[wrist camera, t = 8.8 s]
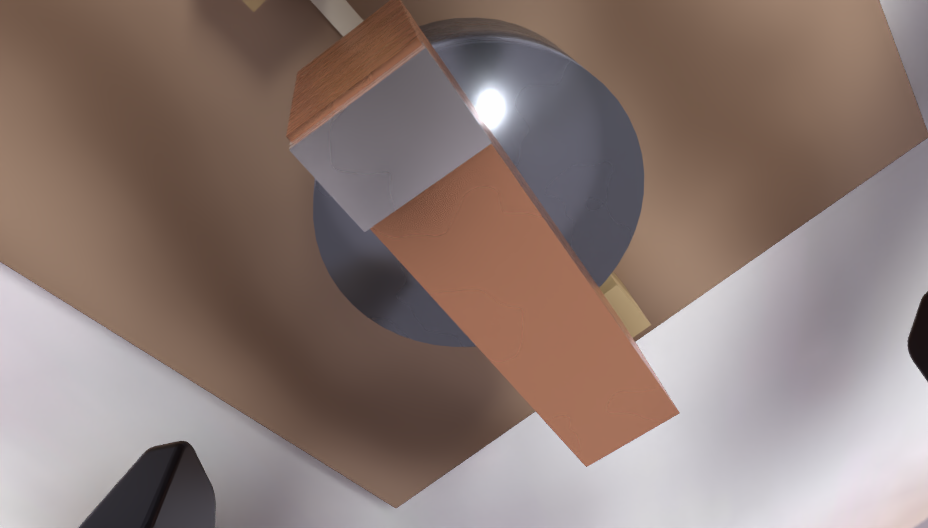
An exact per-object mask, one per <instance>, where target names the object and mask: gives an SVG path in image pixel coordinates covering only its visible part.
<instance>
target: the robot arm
mask: <svg viewBox="0 0 928 528" xmlns="http://www.w3.org/2000/svg"><path fill="white" fill-rule="evenodd" d="M908 351H909V354H910V356H911V358H912V360H913V362H914V363H915V365H916V366H917V367H918V369H919V370H920V372H921V373H922V374H923V376H924V377H925V379H926V380H927V382H928V292H927V293H926V294H925V295H924V296H923V297H922V299H921V302H920V305H919V308H918V311H917V314H916V317H915V319H914V322H913V325H912V328H911V331H910V334H909V337H908ZM215 509H216V504H215V495H214V491H213V487H212V485H211V483H210V481H209V479H208V477H207V475H206V473H205V471H204V469H203V467H202V465H201V463H200V461H199V459H198V457H197V455H196V452H195V450H194V449H193V447H192V446H191V445H190V444H189V443H188V442H186V441H178V442H173V443H168V444H163V445H159V446H154V447H152V448H150V449H148V450H147V451H146V452H145V453H144V454H143V455H142V456H141V457H140V458H139V459H138V460H137V461H136V463H135V464H134V465H133V466H132V467H131V468H130V469H129V470H128V472H127V473H126V474H125V475H124V476H123V477H122V478H121V480H120V481H119V482H118V483H117V484H116V485H115V486H114V488H113V489H112V490H111V491H110V492H109V493H108V494H107V496H106V497H105V498H104V499H103V500H102V501H101V502H100V504H99V505H98V506H97V507H96V508H95V509H94V510H93V512H92V513H91V514H90V515H89V516H88V517H87V518H86V520H85V521H84V522H83V523H82V524H81V525H80V526H79V528H215Z"/></svg>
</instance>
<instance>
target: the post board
mask: <svg viewBox="0 0 928 528" xmlns="http://www.w3.org/2000/svg"><path fill="white" fill-rule="evenodd" d="M389 1H390V0H0V262H2V263H3V264H5V265H6V266H8V267H10V268H11V269H13V270H14V271H16V272H18V273H19V274H21V275H22V276H24V277H26V278H27V279H29V280H30V281H32V282H34V283H35V284H37V285H38V286H40V287H42V288H43V289H45V290H46V291H48V292H50V293H51V294H53V295H55V296H56V297H58V298H59V299H61V300H63V301H64V302H66V303H67V304H69V305H71V306H72V307H74V308H75V309H77V310H79V311H80V312H82V313H83V314H85V315H87V316H88V317H90V318H91V319H93V320H95V321H96V322H98V323H99V324H101V325H103V326H104V327H106V328H107V329H109V330H111V331H112V332H114V333H115V334H117V335H119V336H120V337H122V338H123V339H125V340H127V341H128V342H130V343H131V344H133V345H135V346H136V347H138V348H139V349H141V350H143V351H144V352H146V353H147V354H149V355H151V356H152V357H154V358H155V359H157V360H159V361H160V362H162V363H163V364H165V365H167V366H168V367H170V368H172V369H173V370H175V371H176V372H178V373H180V374H181V375H183V376H184V377H186V378H188V379H189V380H191V381H192V382H194V383H196V384H197V385H199V386H200V387H202V388H204V389H205V390H207V391H208V392H210V393H212V394H213V395H215V396H216V397H218V398H220V399H221V400H223V401H224V402H226V403H228V404H229V405H231V406H232V407H234V408H236V409H237V410H239V411H240V412H242V413H244V414H245V415H247V416H248V417H250V418H252V419H253V420H255V421H256V422H258V423H260V424H261V425H263V426H264V427H266V428H268V429H269V430H271V431H272V432H274V433H276V434H277V435H279V436H280V437H282V438H284V439H285V440H287V441H289V442H290V443H292V444H293V445H295V446H297V447H298V448H300V449H301V450H303V451H305V452H306V453H308V454H309V455H311V456H313V457H314V458H316V459H317V460H319V461H321V462H322V463H324V464H325V465H327V466H329V467H330V468H332V469H333V470H335V471H337V472H338V473H340V474H341V475H343V476H345V477H346V478H348V479H349V480H351V481H353V482H354V483H356V484H357V485H359V486H361V487H362V488H364V489H365V490H367V491H369V492H370V493H372V494H373V495H375V496H377V497H378V498H380V499H381V500H383V501H385V502H386V503H388V504H389V505H391V506H393V507H394V508H398V507H399V506H400V505H402V504H403V503H405V502H406V501H408V500H409V499H410V498H412V497H413V496H415V495H416V494H418V493H419V492H420V491H422V490H423V489H425V488H426V487H428V486H429V485H430V484H432V483H433V482H435V481H436V480H438V479H439V478H441V477H442V476H443V475H445V474H446V473H448V472H449V471H451V470H452V469H453V468H455V467H456V466H458V465H459V464H461V463H462V462H463V461H465V460H466V459H468V458H469V457H471V456H472V455H474V454H475V453H476V452H478V451H479V450H481V449H482V448H484V447H485V446H486V445H488V444H489V443H491V442H492V441H494V440H495V439H496V438H498V437H499V436H501V435H502V434H504V433H505V432H506V431H508V430H509V429H511V428H512V427H514V426H515V425H517V424H518V423H519V422H521V421H522V420H524V419H525V418H527V417H528V416H529V415H531V414H532V413H534V412H535V410H534V409H533V408H532V407H531V406H530V404H529V403H528V402H527V401H526V400H525V399H524V398H523V397H522V396H521V395H520V393H519V392H518V391H517V390H516V389H515V388H514V387H513V386H512V385H511V384H510V382H509V381H508V380H507V379H506V378H505V377H504V376H503V375H502V374H501V373H500V371H499V370H498V369H497V368H496V367H495V366H494V365H493V364H492V363H491V362H490V360H489V359H488V358H487V357H486V356H485V355H484V354H483V353H482V352H481V351H480V349H479V348H478V347H477V346H476V347H449V346H439V345H432V344H428V343H423V342H419V341H415V340H412V339H409V338H406V337H403V336H400V335H398V334H396V333H394V332H392V331H390V330H388V329H385V328H383V327H382V326H380V325H378V324H377V323H375V322H374V321H372V320H371V319H369V318H368V317H366V316H365V315H364V314H363V313H362V312H360V311H359V310H358V309H357V308H356V307H355V306H353V305H352V304H351V303H350V301H349V300H348V299H347V298H346V297H345V296H344V295H343V293H342V292H341V291H340V290H339V288H338V287H337V285H336V284H335V282H334V281H333V279H332V278H331V276H330V275H329V273H328V271H327V268H326V266H325V264H324V262H323V260H322V258H321V254H320V251H319V248H318V244H317V241H316V237H315V229H314V222H313V194H314V177H313V176H312V174H311V173H310V172H309V171H308V170H307V169H306V168H305V167H304V166H303V165H302V164H301V162H300V161H299V160H298V159H297V158H296V157H295V156H294V155H293V154H292V153H291V152H290V151H289V146H290V140H289V139H288V138H287V137H286V134H287V128H288V123H289V117H290V111H291V105H292V100H293V94H294V88H295V82H296V77H297V72H298V71H300V70H301V69H302V68H303V67H305V66H306V65H307V64H309V63H310V62H311V61H313V60H314V59H315V58H316V57H318V56H319V55H320V54H322V53H323V52H324V51H325V50H327V49H328V48H329V47H331V46H332V45H333V44H335V43H336V42H337V41H338V40H340V39H341V38H342V37H344V36H345V35H346V34H348V33H349V32H350V31H351V30H353V29H354V28H355V27H357V26H358V25H359V24H360V23H362V22H363V21H364V20H366V19H367V18H368V17H370V16H371V15H372V14H373V13H375V12H376V11H377V10H379V9H380V8H381V7H383V6H384V5H385V4H386V3H388V2H389ZM401 1H402V3H403V4H404V6H405V7H406V9H407V10H408V11H409V13H410V14H411V16H412V17H413V19H414V20H415V22H416V23H417V24H418V26H422V25H426V24H429V23H432V22H436V21H441V20H447V19H453V18H472V17H478V18H487V19H497V20H501V21H505V22H509V23H513V24H517V25H520V26H522V27H524V28H527V29H529V30H532V31H534V32H536V33H538V34H540V35H541V36H543V37H545V38H546V39H548V40H550V41H551V42H553V43H554V44H556V45H557V46H558V47H559V48H560V49H562V50H563V51H564V52H565V53H566V54H568V55H569V56H570V57H571V58H573V59H574V60H575V61H576V62H577V63H579V64H580V65H581V66H582V67H583V68H585V69H586V70H587V71H588V72H590V73H591V74H592V75H593V76H594V77H596V78H597V79H598V80H599V81H600V82H602V83H603V84H604V85H605V86H606V87H607V88H608V89H609V91H610V92H611V93H612V94H613V95H614V96H615V97H616V98H617V100H618V101H619V103H620V104H621V106H622V107H623V109H624V110H625V112H626V113H627V115H628V117H629V119H630V121H631V123H632V125H633V128H634V130H635V132H636V134H637V137H638V141H639V145H640V148H641V152H642V158H643V166H644V196H643V202H642V208H641V213H640V217H639V220H638V223H637V227H636V230H635V232H634V235H633V237H632V239H631V242H630V244H629V246H628V248H627V250H626V252H625V253H624V255H623V257H622V259H621V260H620V262H619V264H618V265H617V267H616V268H615V269H614V271H613V272H612V273H611V275H610V276H609V277H608V279H607V280H606V281H605V282H604V283H603V284H602V285H601V286H600V287H599V288H600V290H601V291H602V293H603V294H604V296H605V297H606V298H607V300H608V301H609V303H610V304H611V306H612V307H613V309H614V310H615V312H616V313H617V314H618V316H619V317H620V319H621V320H622V322H623V324H624V325H625V327H626V328H627V330H628V332H629V333H630V335H631V336H632V338H633V339H634V341H635V342H636V341H637V340H638V339H640V338H641V337H643V336H644V335H646V334H647V333H648V332H650V331H651V330H653V329H654V328H656V327H657V326H658V325H660V324H661V323H663V322H664V321H666V320H667V319H669V318H670V317H671V316H673V315H674V314H676V313H677V312H679V311H680V310H681V309H683V308H684V307H686V306H687V305H689V304H690V303H691V302H693V301H694V300H696V299H697V298H699V297H700V296H702V295H703V294H704V293H706V292H707V291H709V290H710V289H712V288H713V287H714V286H716V285H717V284H719V283H720V282H722V281H723V280H724V279H726V278H727V277H729V276H730V275H732V274H733V273H735V272H736V271H737V270H739V269H740V268H742V267H743V266H745V265H746V264H747V263H749V262H750V261H752V260H753V259H755V258H756V257H757V256H759V255H760V254H762V253H763V252H765V251H766V250H767V249H769V248H770V247H772V246H773V245H775V244H776V243H778V242H779V241H780V240H782V239H783V238H785V237H786V236H788V235H789V234H790V233H792V232H793V231H795V230H796V229H798V228H799V227H800V226H802V225H803V224H805V223H806V222H808V221H809V220H811V219H812V218H813V217H815V216H816V215H818V214H819V213H821V212H822V211H823V210H825V209H826V208H828V207H829V206H831V205H832V204H833V203H835V202H836V201H838V200H839V199H841V198H842V197H843V196H845V195H846V194H848V193H849V192H851V191H852V190H854V189H855V188H856V187H858V186H859V185H861V184H862V183H864V182H865V181H866V180H868V179H869V178H871V177H872V176H874V175H875V174H876V173H878V172H879V171H881V170H882V169H884V168H885V167H887V166H888V165H889V164H891V163H892V162H894V161H895V160H897V159H898V158H899V157H901V156H902V155H904V154H905V153H907V152H908V151H909V150H911V149H912V148H914V147H915V146H917V145H918V144H919V143H921V142H922V141H924V140H925V139H927V138H928V131H927V129H926V126H925V123H924V121H923V118H922V115H921V112H920V110H919V107H918V104H917V102H916V99H915V96H914V93H913V91H912V88H911V85H910V83H909V80H908V77H907V74H906V72H905V69H904V66H903V64H902V61H901V58H900V55H899V53H898V50H897V47H896V45H895V42H894V39H893V36H892V34H891V31H890V28H889V26H888V23H887V20H886V17H885V15H884V12H883V9H882V7H881V4H880V1H879V0H401Z"/></svg>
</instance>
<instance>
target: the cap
mask: <svg viewBox="0 0 928 528" xmlns="http://www.w3.org/2000/svg"><path fill="white" fill-rule="evenodd" d="M286 137H287V138H288V139H289V140H290V146H289V151H290V152H291V153H292V154H293V155H294V156H295V157H296V158H297V159H298V160H299V161H300V162H301V164H302V165H303V166H304V167H305V168H306V169H307V170H308V171H309V172H310V173H311V174H312V176H313V177H314V194H313V222H314V229H315V237H316V241H317V244H318V248H319V251H320V254H321V258H322V260H323V262H324V264H325V266H326V268H327V271H328V273H329V275H330V276H331V278H332V279H333V281H334V282H335V284H336V285H337V287H338V288H339V290H340V291H341V292H342V293H343V295H344V296H345V297H346V298H347V299H348V300H349V301H350V303H351V304H352V305H353V306H355V307H356V308H357V309H358V310H359V311H360V312H362V313H363V314H364V315H365V316H366V317H368V318H369V319H371V320H372V321H374V322H375V323H377V324H378V325H380V326H382V327H383V328H385V329H388V330H390V331H392V332H394V333H396V334H398V335H400V336H403V337H406V338H409V339H412V340H415V341H419V342H423V343H428V344H432V345H439V346H449V347H476V346H477V347H478V348H479V349H480V351H481V352H482V353H483V354H484V355H485V356H486V357H487V358H488V359H489V360H490V362H491V363H492V364H493V365H494V366H495V367H496V368H497V369H498V370H499V371H500V373H501V374H502V375H503V376H504V377H505V378H506V379H507V380H508V381H509V382H510V384H511V385H512V386H513V387H514V388H515V389H516V390H517V391H518V392H519V393H520V395H521V396H522V397H523V398H524V399H525V400H526V401H527V402H528V403H529V404H530V406H531V407H532V408H533V409H534V410H535V411H536V412H537V413H538V414H539V415H540V417H541V418H542V419H543V420H544V421H545V422H546V423H547V424H548V425H549V426H550V428H551V429H552V430H553V431H554V432H555V433H556V434H557V435H558V436H559V437H560V439H561V440H562V441H563V442H564V443H565V444H566V445H567V446H568V447H569V448H570V450H571V451H572V452H573V453H574V454H575V455H576V456H577V457H578V458H579V459H580V461H581V462H582V463H583V464H584V465H585V466H586V467H587V466H589V465H591V464H592V463H594V462H596V461H598V460H599V459H601V458H603V457H605V456H606V455H608V454H610V453H612V452H613V451H615V450H617V449H618V448H620V447H622V446H624V445H625V444H627V443H629V442H631V441H632V440H634V439H636V438H637V437H639V436H641V435H643V434H644V433H646V432H648V431H650V430H651V429H653V428H655V427H657V426H658V425H660V424H662V423H663V422H665V421H667V420H669V419H670V418H672V417H674V416H676V415H677V414H679V411H678V410H677V408H676V406H675V405H674V403H673V402H672V400H671V398H670V397H669V395H668V394H667V392H666V390H665V389H664V387H663V386H662V384H661V383H660V381H659V379H658V378H657V376H656V375H655V373H654V371H653V370H652V368H651V367H650V365H649V363H648V362H647V360H646V359H645V357H644V355H643V354H642V352H641V351H640V349H639V347H638V346H637V344H636V343H635V341H634V339H633V338H632V336H631V335H630V333H629V332H628V330H627V328H626V327H625V325H624V324H623V322H622V320H621V319H620V317H619V316H618V314H617V313H616V312H615V310H614V309H613V307H612V306H611V304H610V303H609V301H608V300H607V298H606V297H605V296H604V294H603V293H602V291H601V290H600V288H599V287H600V286H601V285H602V284H603V283H604V282H605V281H606V280H607V279H608V277H609V276H610V275H611V273H612V272H613V271H614V269H615V268H616V267H617V265H618V264H619V262H620V260H621V259H622V257H623V255H624V253H625V252H626V250H627V248H628V246H629V244H630V242H631V239H632V237H633V235H634V232H635V230H636V227H637V223H638V220H639V217H640V213H641V208H642V202H643V196H644V166H643V158H642V152H641V148H640V145H639V141H638V137H637V134H636V132H635V130H634V128H633V125H632V123H631V121H630V119H629V117H628V115H627V113H626V112H625V110H624V109H623V107H622V106H621V104H620V103H619V101H618V100H617V98H616V97H615V96H614V95H613V94H612V93H611V92H610V91H609V89H608V88H607V87H606V86H605V85H604V84H603V83H602V82H600V81H599V80H598V79H597V78H596V77H594V76H593V75H592V74H591V73H590V72H588V71H587V70H586V69H585V68H583V67H582V66H581V65H580V64H579V63H577V62H576V61H575V60H574V59H573V58H571V57H570V56H569V55H568V54H566V53H565V52H564V51H563V50H562V49H560V48H559V47H558V46H557V45H556V44H554V43H553V42H551V41H550V40H548V39H546V38H545V37H543V36H541V35H540V34H538V33H536V32H534V31H532V30H529V29H527V28H524V27H522V26H520V25H517V24H513V23H509V22H505V21H501V20H497V19H487V18H478V17H472V18H453V19H447V20H441V21H436V22H432V23H429V24H426V25H422V26H418V24H417V23H416V22H415V20H414V19H413V17H412V16H411V14H410V13H409V11H408V10H407V9H406V7H405V6H404V4H403V3H402V1H401V0H390V1H389V2H388V3H386V4H385V5H384V6H383V7H381V8H380V9H379V10H377V11H376V12H375V13H373V14H372V15H371V16H370V17H368V18H367V19H366V20H364V21H363V22H362V23H360V24H359V25H358V26H357V27H355V28H354V29H353V30H351V31H350V32H349V33H348V34H346V35H345V36H344V37H342V38H341V39H340V40H338V41H337V42H336V43H335V44H333V45H332V46H331V47H329V48H328V49H327V50H325V51H324V52H323V53H322V54H320V55H319V56H318V57H316V58H315V59H314V60H313V61H311V62H310V63H309V64H307V65H306V66H305V67H303V68H302V69H301V70H300V71H298V72H297V77H296V82H295V88H294V94H293V100H292V105H291V111H290V117H289V123H288V128H287V134H286Z"/></svg>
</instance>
